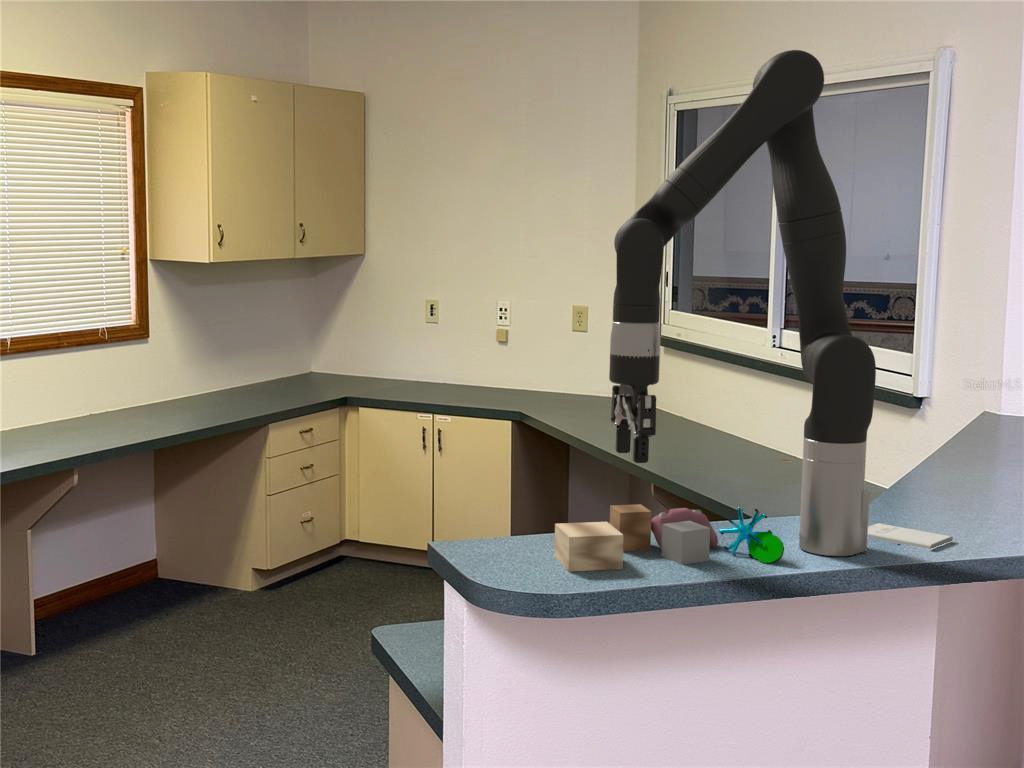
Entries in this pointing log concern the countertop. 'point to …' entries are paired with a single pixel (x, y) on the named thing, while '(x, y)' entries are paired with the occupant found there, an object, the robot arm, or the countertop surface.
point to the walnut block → (632, 525)
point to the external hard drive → (907, 536)
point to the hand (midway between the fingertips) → (631, 457)
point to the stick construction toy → (756, 540)
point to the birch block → (588, 546)
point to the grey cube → (685, 542)
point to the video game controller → (681, 516)
